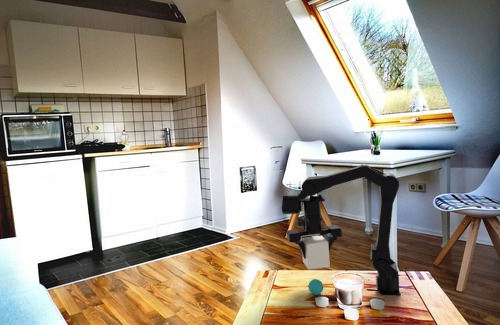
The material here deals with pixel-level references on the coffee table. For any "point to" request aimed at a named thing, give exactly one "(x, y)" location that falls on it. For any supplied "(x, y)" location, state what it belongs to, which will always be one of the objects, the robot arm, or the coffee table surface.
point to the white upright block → (316, 252)
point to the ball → (315, 286)
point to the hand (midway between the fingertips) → (315, 257)
